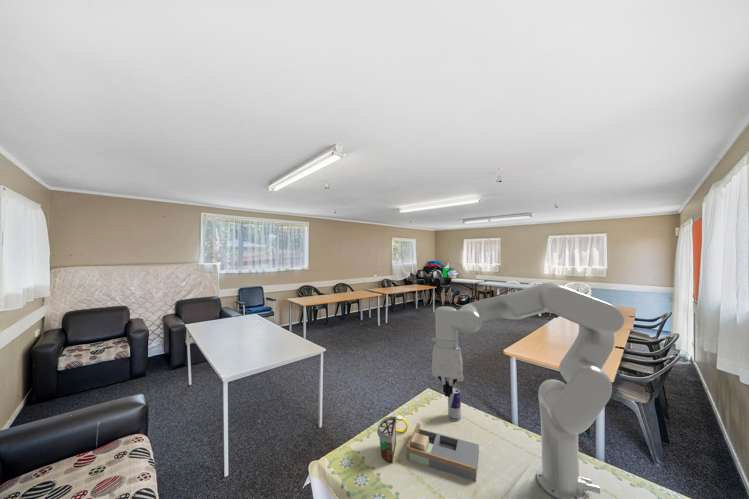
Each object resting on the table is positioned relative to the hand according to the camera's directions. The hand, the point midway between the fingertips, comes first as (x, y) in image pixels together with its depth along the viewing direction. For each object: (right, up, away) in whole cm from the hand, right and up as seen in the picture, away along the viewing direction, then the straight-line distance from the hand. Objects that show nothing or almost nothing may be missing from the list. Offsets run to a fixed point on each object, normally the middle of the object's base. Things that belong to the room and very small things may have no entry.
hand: (448, 394), depth 93 cm
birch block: (-9, -21, +3) cm, 23 cm away
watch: (-15, -24, +16) cm, 32 cm away
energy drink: (+10, -24, +24) cm, 35 cm away
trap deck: (-1, -23, +3) cm, 23 cm away
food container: (-22, -24, +4) cm, 32 cm away
